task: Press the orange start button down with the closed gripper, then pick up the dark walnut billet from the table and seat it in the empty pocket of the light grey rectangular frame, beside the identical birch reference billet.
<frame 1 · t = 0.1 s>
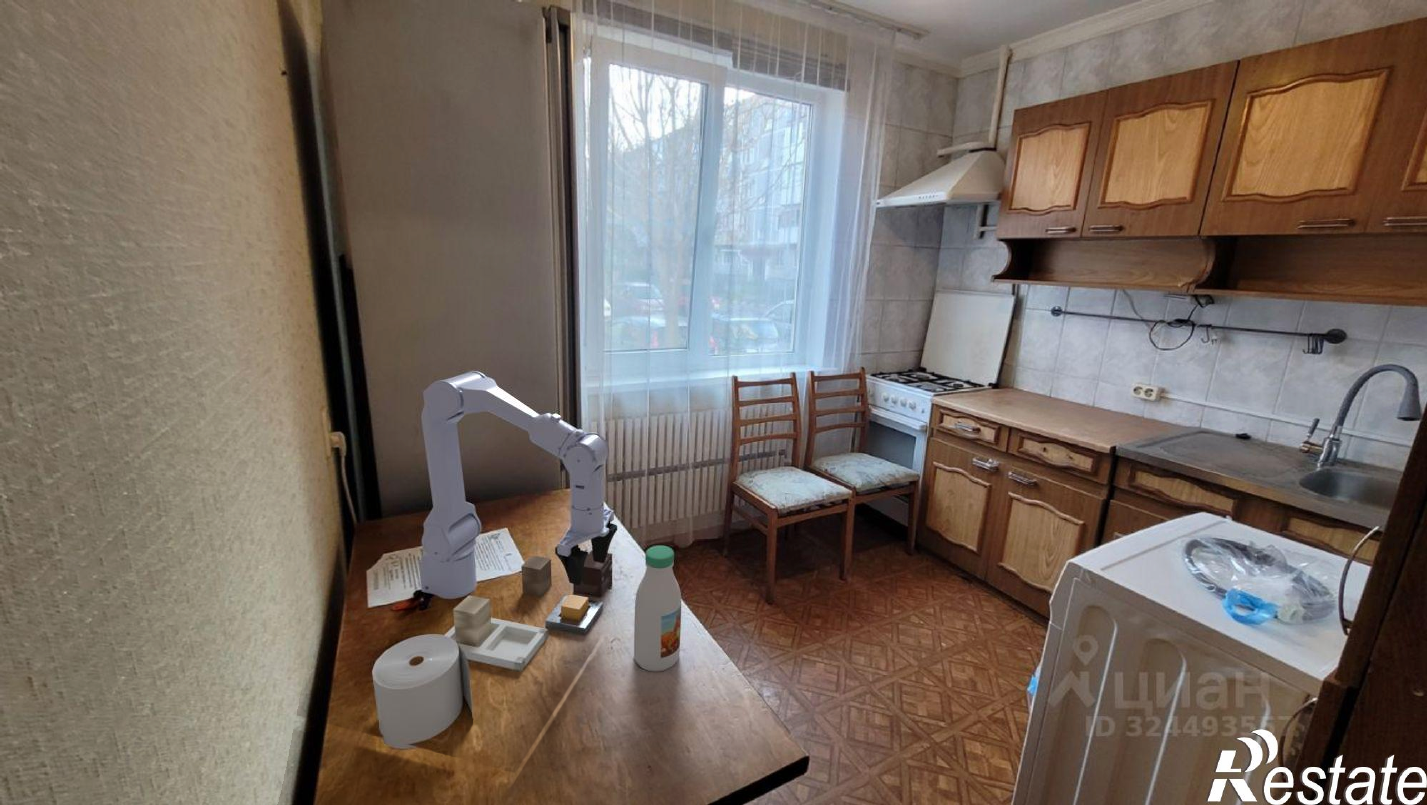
hand: (587, 571, 99), 10 cm above the table, fingers open, 7 cm apart
light grey rectangular frame: (493, 649, 92), on the table
start button: (574, 608, 99), point 3 cm above the table, slide at 0.0 cm
reference billet: (474, 639, 93), point 1 cm above the table, touching light grey rectangular frame
billet: (537, 593, 108), on the table
milk bottle: (656, 657, 93), on the table
button housing: (575, 622, 100), on the table
box: (593, 592, 110), on the table
toilet tissue: (428, 717, 79), on the table
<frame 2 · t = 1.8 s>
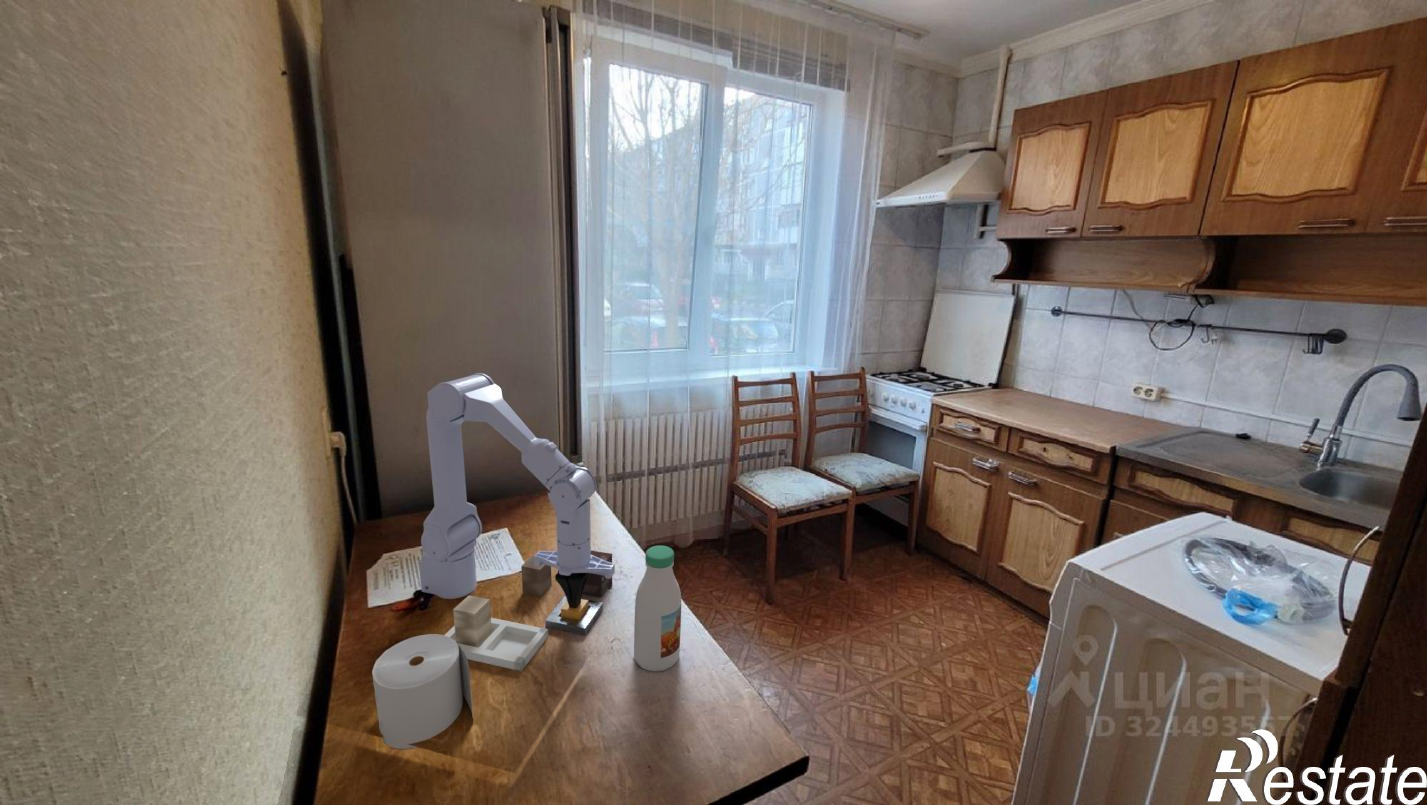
hand: (575, 604, 99), 4 cm above the table, fingers closed, pressing on start button
start button: (574, 611, 99), point 2 cm above the table, slide at 0.6 cm, touching gripper
everything else where it was.
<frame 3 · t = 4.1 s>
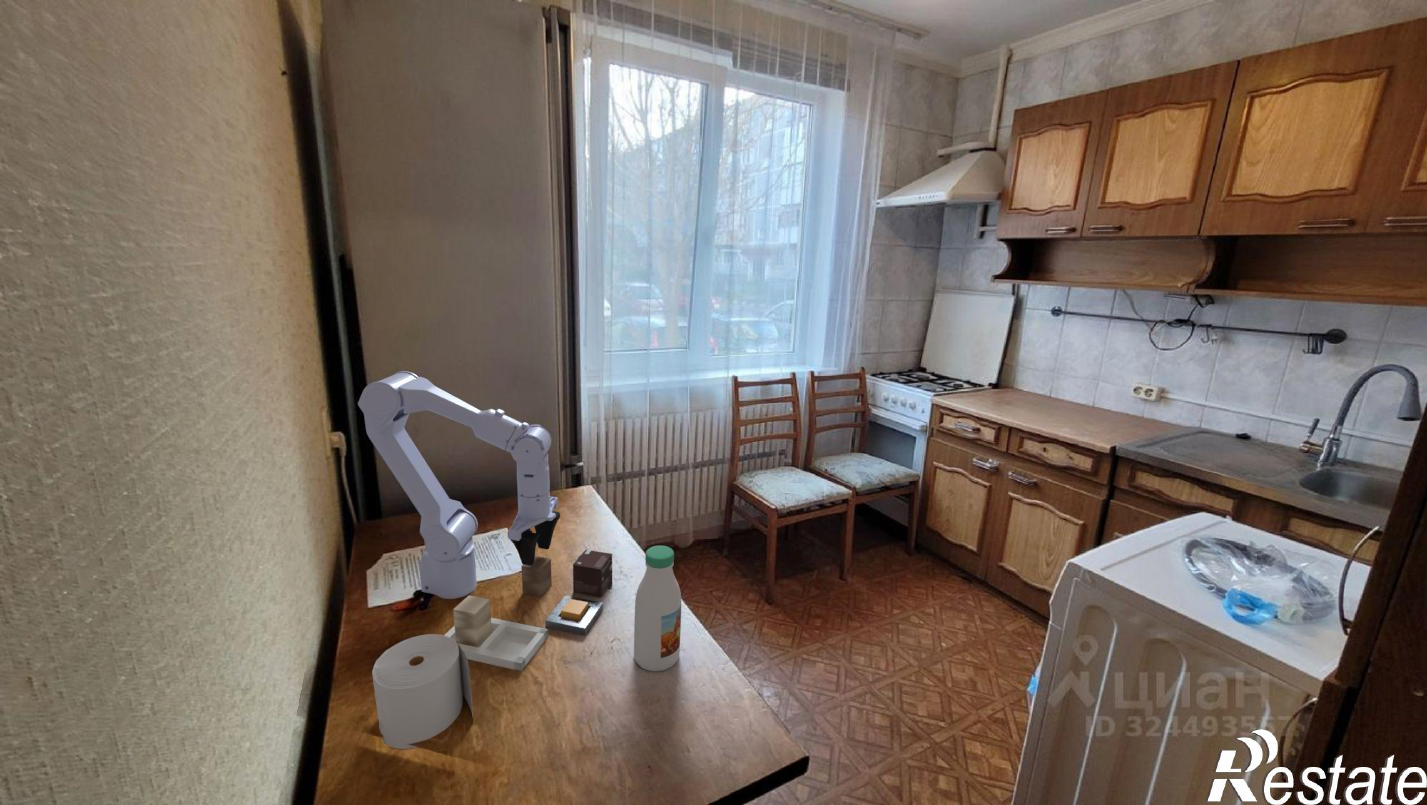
hand: (536, 555, 105), 8 cm above the table, fingers open, 5 cm apart
start button: (574, 613, 99), point 2 cm above the table, slide at 1.0 cm
everything else where it was.
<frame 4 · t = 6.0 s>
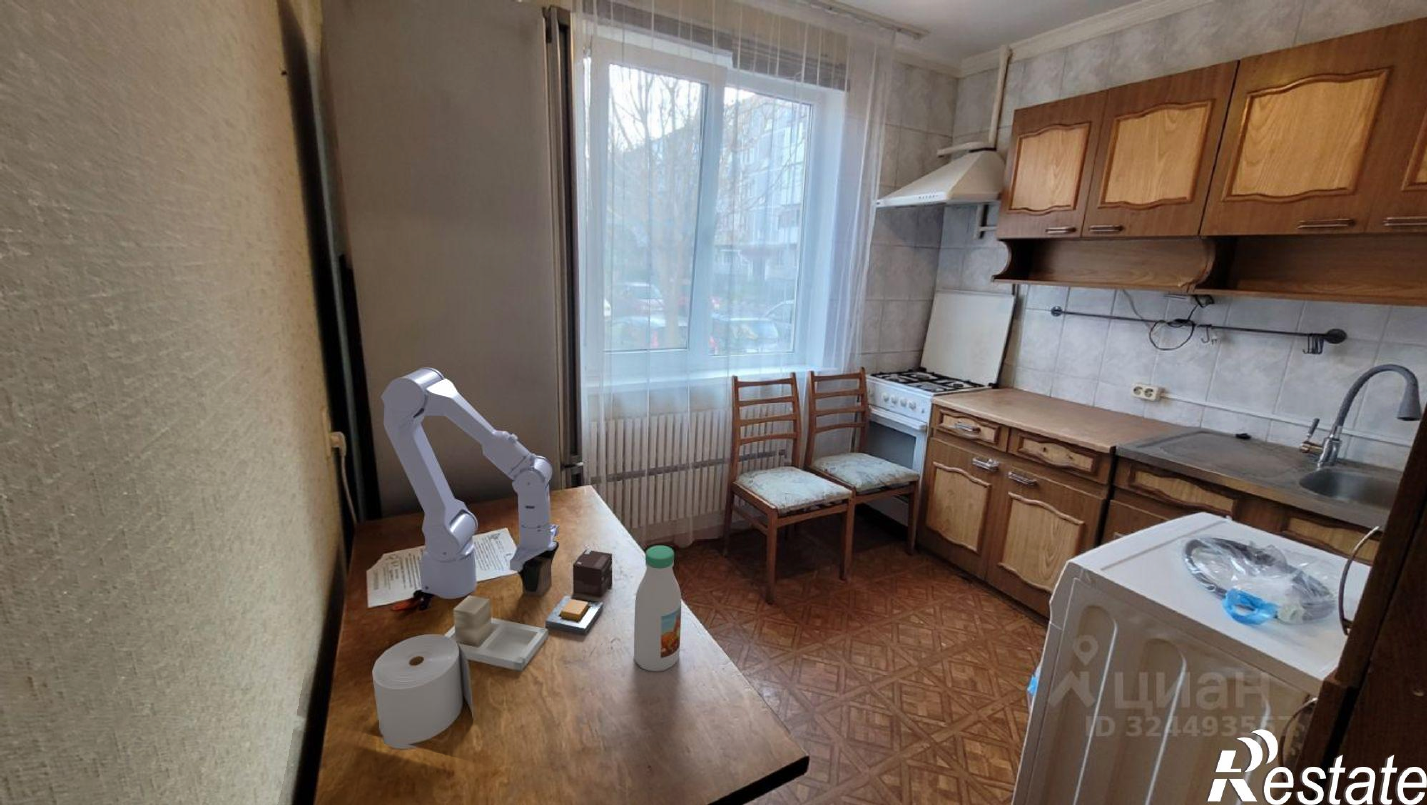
hand: (537, 583, 107), 2 cm above the table, fingers closed on billet, 4 cm apart
billet: (537, 593, 108), on the table, touching gripper
everything else where it was.
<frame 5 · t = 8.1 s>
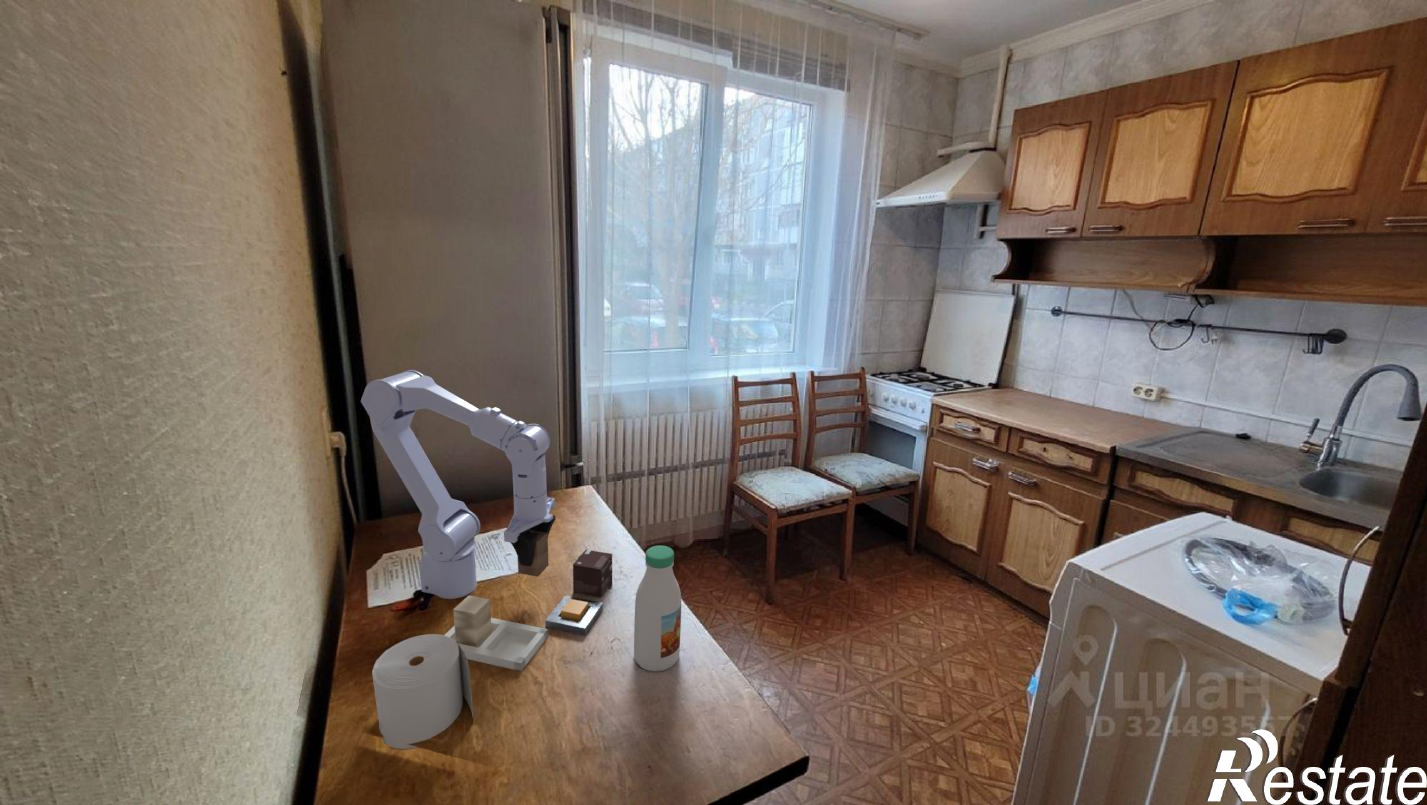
hand: (532, 558, 103), 9 cm above the table, fingers closed on billet, 4 cm apart
billet: (533, 569, 103), point 7 cm above the table, touching gripper
everything else where it was.
when the fingers open (4 cm above the table, at t = 10.6 s): billet stays where it is, resting on light grey rectangular frame.
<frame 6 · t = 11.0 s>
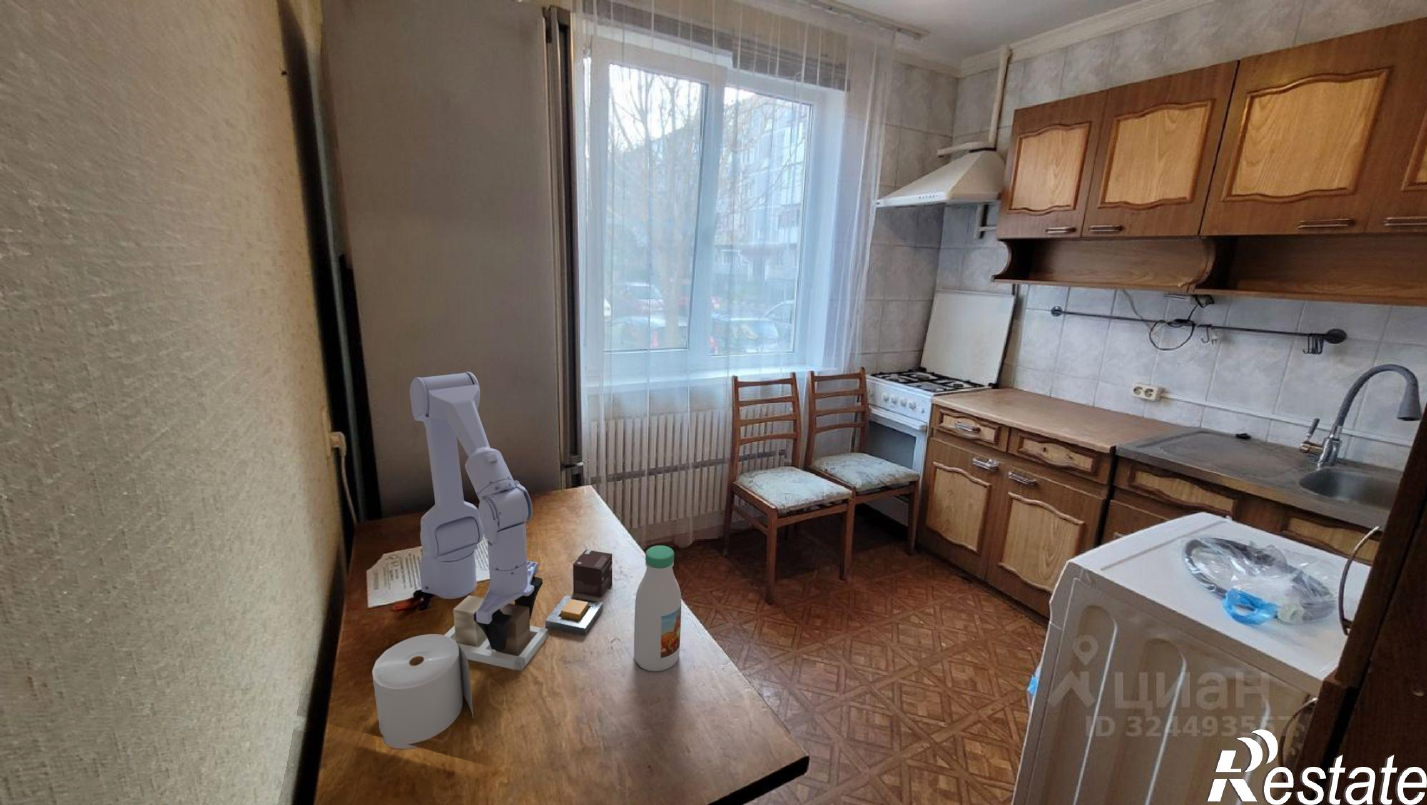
hand: (511, 633, 91), 4 cm above the table, fingers open, 7 cm apart
billet: (513, 648, 91), point 1 cm above the table, touching light grey rectangular frame
everything else where it was.
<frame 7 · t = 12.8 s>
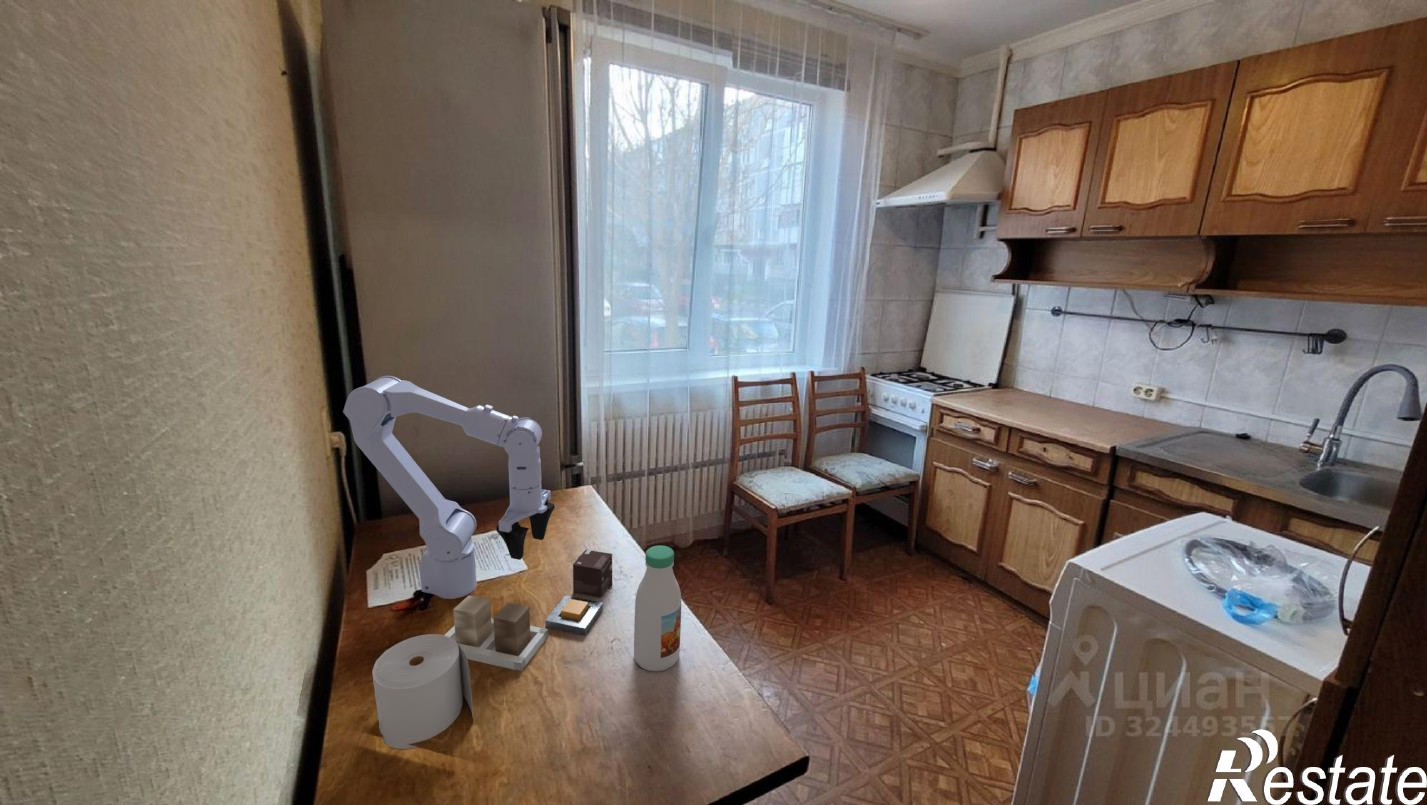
hand: (527, 548, 106), 9 cm above the table, fingers open, 7 cm apart
nothing on the table moved.
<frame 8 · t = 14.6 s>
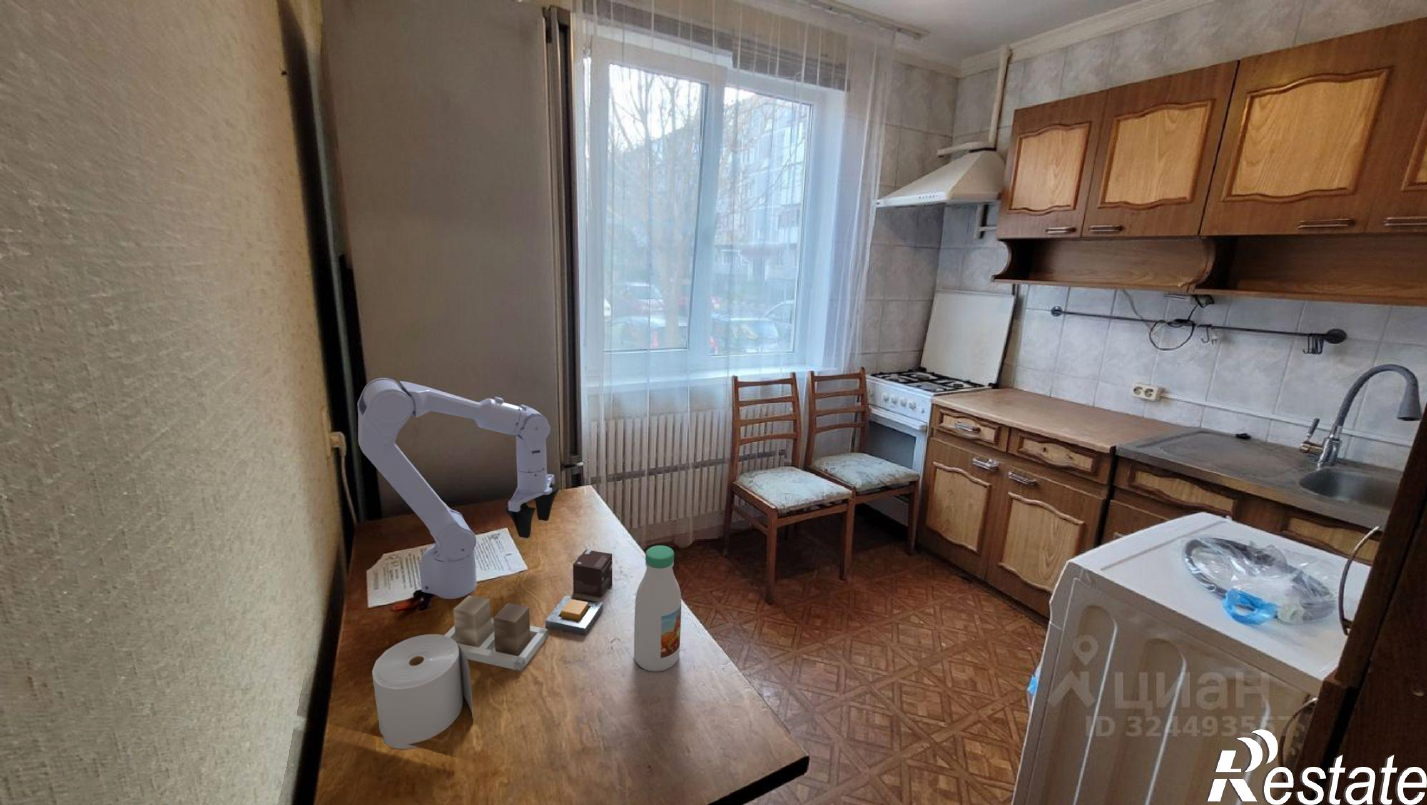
hand: (534, 528, 114), 9 cm above the table, fingers open, 7 cm apart
nothing on the table moved.
at the end: start button slide at 1.0 cm; billet 0.2 cm from the target spot on the light grey rectangular frame, point 1.0 cm above the light grey rectangular frame's base; billet tilted 0° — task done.
